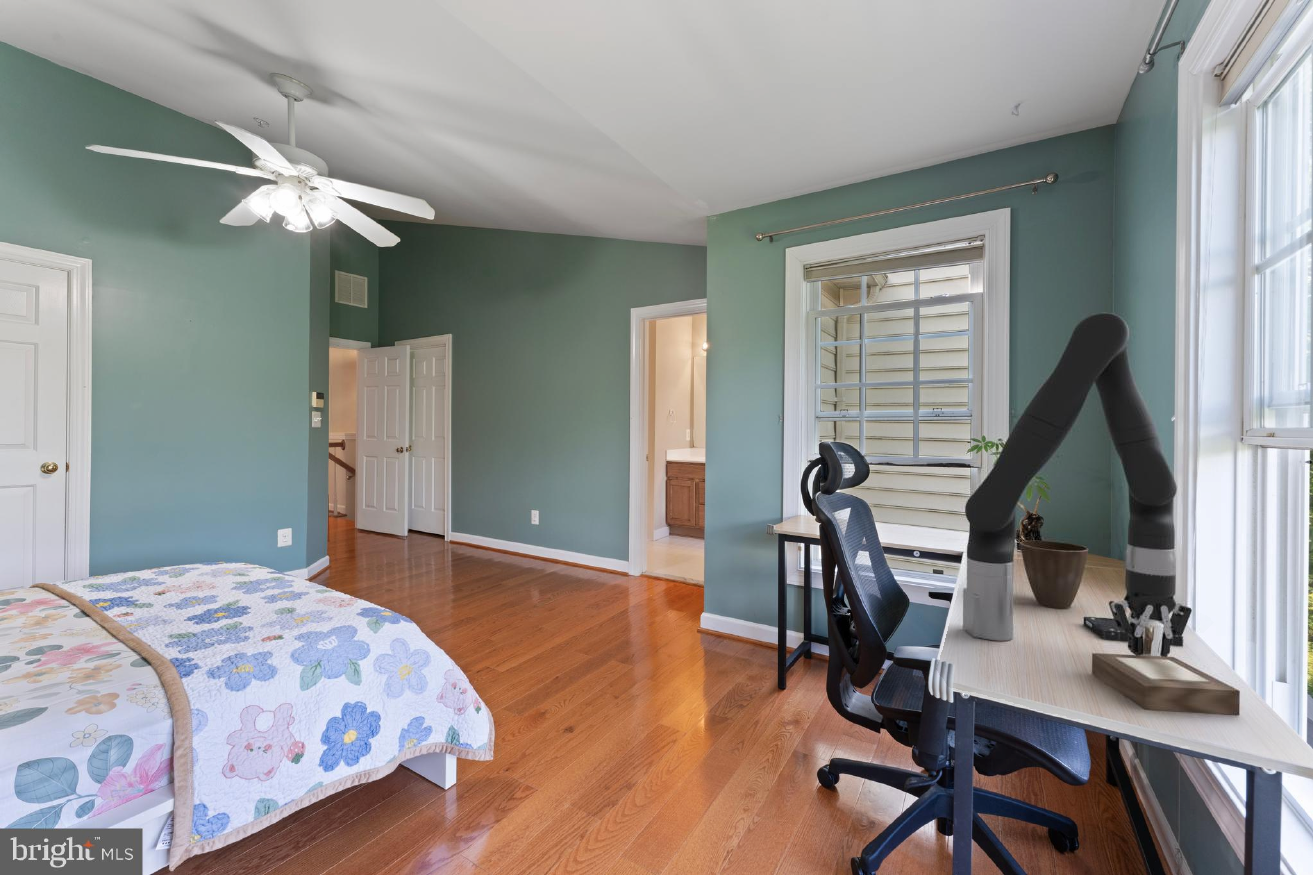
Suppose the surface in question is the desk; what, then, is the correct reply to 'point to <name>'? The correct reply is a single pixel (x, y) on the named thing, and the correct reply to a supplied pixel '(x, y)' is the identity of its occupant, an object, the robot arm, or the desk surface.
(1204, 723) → the desk surface
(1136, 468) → the robot arm
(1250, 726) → the desk surface
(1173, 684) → the plinth
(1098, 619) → the disk drive
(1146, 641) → the milkshake
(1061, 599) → the plant pot
